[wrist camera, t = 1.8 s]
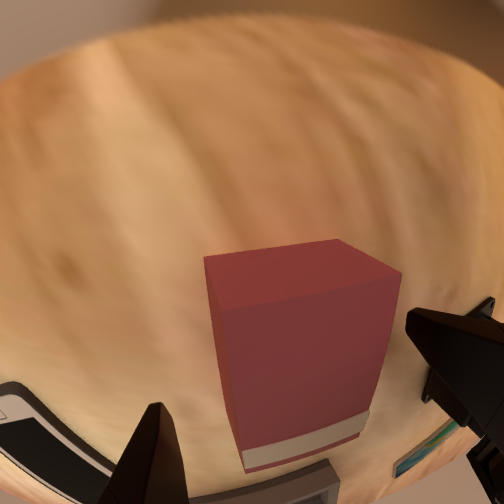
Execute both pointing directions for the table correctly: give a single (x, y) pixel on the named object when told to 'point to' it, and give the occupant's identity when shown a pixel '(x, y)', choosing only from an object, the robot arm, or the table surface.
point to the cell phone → (49, 447)
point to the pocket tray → (285, 489)
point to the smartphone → (424, 448)
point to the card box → (299, 345)
